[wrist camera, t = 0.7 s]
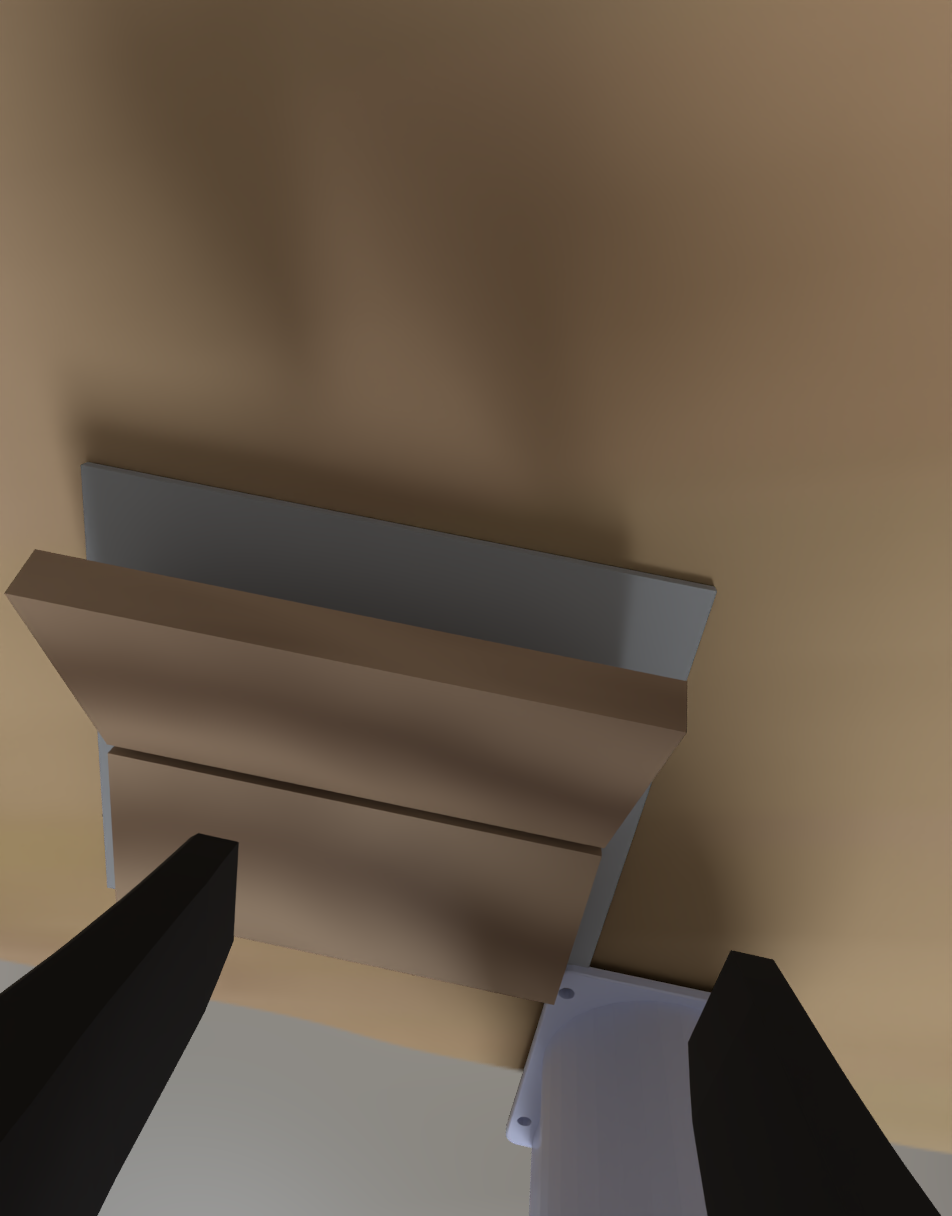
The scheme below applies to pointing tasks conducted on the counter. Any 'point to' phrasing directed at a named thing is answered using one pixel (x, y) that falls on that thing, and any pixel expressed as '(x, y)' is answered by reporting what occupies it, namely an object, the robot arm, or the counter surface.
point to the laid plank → (364, 874)
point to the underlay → (400, 593)
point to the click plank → (352, 699)
